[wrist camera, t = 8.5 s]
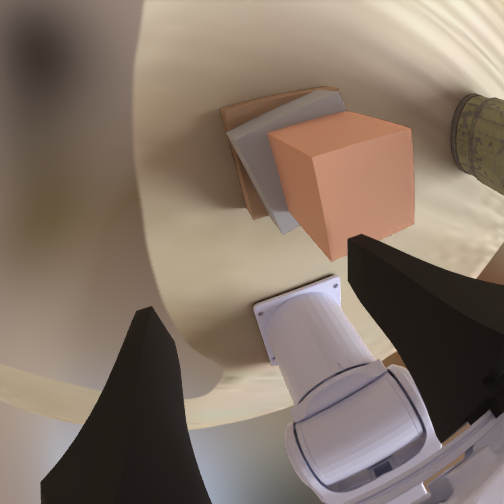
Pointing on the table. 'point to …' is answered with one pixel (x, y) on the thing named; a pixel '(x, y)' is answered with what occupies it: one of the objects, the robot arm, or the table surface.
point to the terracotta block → (346, 177)
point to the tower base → (243, 114)
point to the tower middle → (260, 153)
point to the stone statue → (480, 139)
